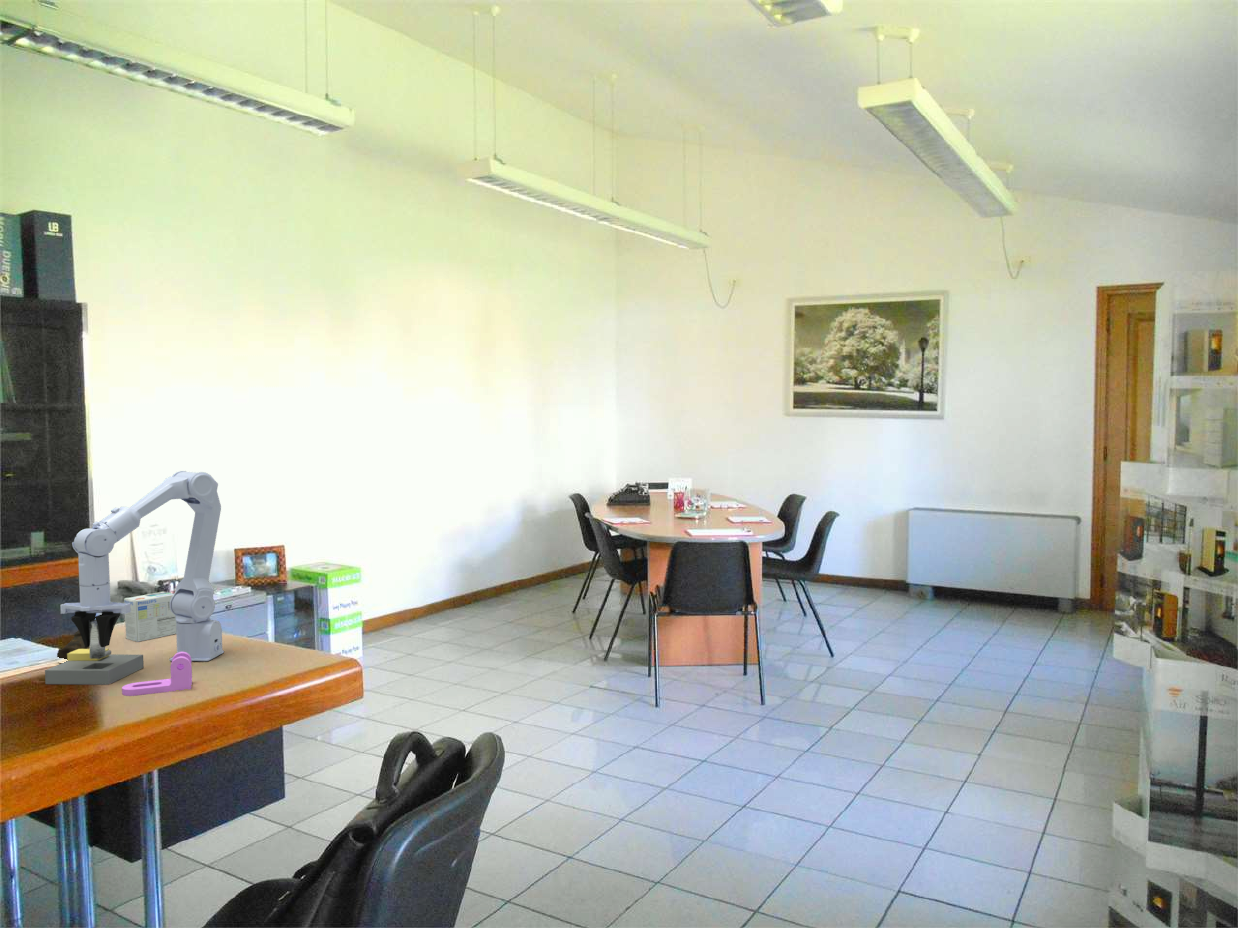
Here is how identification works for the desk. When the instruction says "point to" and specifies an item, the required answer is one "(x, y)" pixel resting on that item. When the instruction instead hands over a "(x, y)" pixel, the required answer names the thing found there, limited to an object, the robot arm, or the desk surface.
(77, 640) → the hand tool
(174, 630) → the light bulb box
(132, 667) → the plate
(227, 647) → the desk surface
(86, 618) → the robot arm
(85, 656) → the latch flap
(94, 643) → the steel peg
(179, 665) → the bracket
